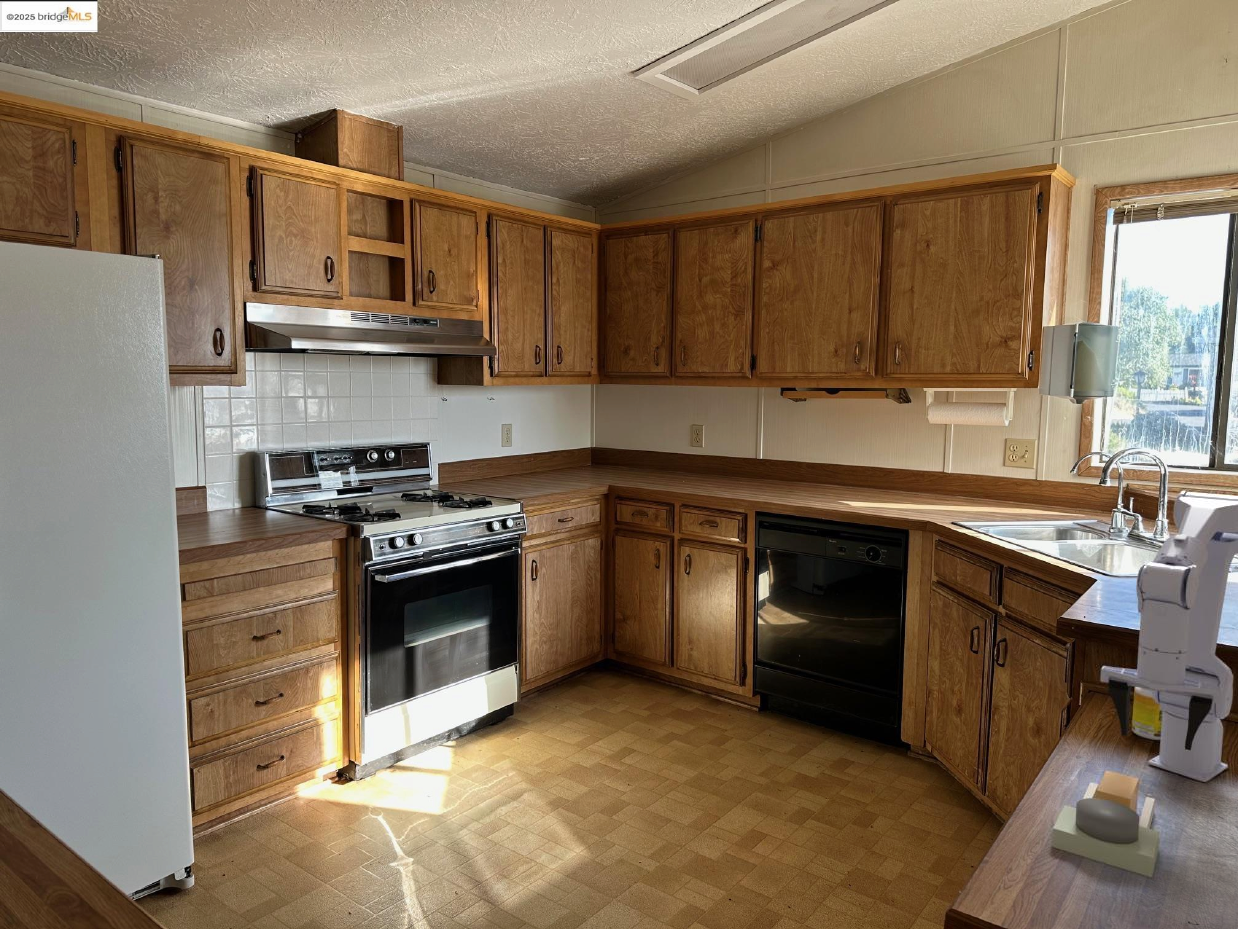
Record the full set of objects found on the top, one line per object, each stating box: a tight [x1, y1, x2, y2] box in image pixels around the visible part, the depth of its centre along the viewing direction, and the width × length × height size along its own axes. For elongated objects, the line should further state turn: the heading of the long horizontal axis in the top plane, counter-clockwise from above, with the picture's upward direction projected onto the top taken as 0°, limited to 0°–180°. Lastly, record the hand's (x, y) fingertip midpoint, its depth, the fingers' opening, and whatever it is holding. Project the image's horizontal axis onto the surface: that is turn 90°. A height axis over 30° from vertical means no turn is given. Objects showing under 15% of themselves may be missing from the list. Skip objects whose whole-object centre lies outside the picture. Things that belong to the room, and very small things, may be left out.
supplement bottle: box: [1131, 687, 1163, 741], centre depth 145 cm, size 6×6×10 cm
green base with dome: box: [1051, 781, 1161, 878], centre depth 112 cm, size 20×11×5 cm, turn 142°
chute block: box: [1096, 770, 1140, 813], centre depth 116 cm, size 8×4×5 cm, turn 141°
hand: (1155, 740), depth 119 cm, fingers open, 7 cm apart
